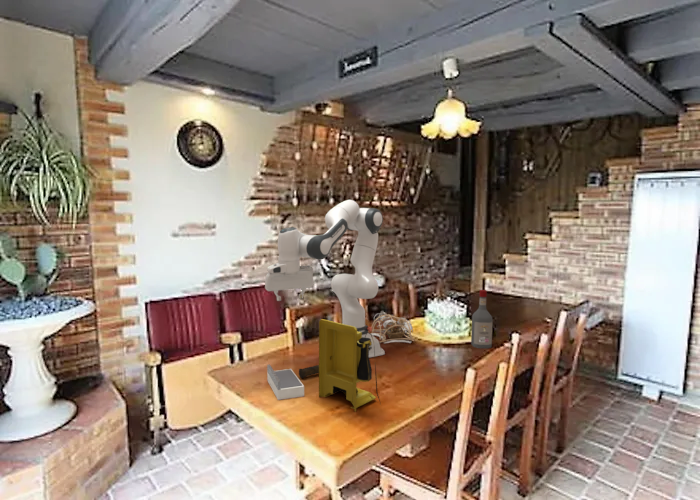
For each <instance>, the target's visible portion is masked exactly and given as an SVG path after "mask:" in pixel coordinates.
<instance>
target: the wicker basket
mask: <svg viewBox="0 0 700 500" xmlns="http://www.w3.org/2000/svg"><path fill="white" fill-rule="evenodd" d="M377 315H378V316H377ZM376 316H377V317H376ZM375 317H376V318H375ZM373 319H374V320H373V322H372V325H371V327H372V331H371V333H370V332H369V333H370V334H372V335H373V336H374V337H375V336H376V337H379V343H380V344H382V343H383V344H389V343H408V344H411V343H412V341H413V342H415V339H414V338H413V336H412V332H411V330H412V329H413V326H412V323H411V321H410V320H409V319H407V318H405V317H397V316H395V315H394V314H389V313H388V314H387V313H386V312H384V311H383V310H381V311H380V313H376V314H375V315H374V317H373ZM395 319H396V320H397V321H396V320H395ZM382 322H383V323H382ZM377 323H378V325H377ZM381 323H382V324H381ZM382 326H383V328H382ZM375 327H377V328H378V329H375ZM412 331H413V330H412ZM407 332H408V333H407ZM386 336H388V337H386ZM409 336H410V337H409ZM387 338H389V339H387Z"/></svg>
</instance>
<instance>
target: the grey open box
mask: <svg viewBox="0 0 700 500" xmlns="http://www.w3.org/2000/svg"><path fill="white" fill-rule="evenodd" d="M266 370H267V371H266V374H267V379H266V380H267V382H268V385H269V386H270V388H271V390H272V392H273V393H274V395H275V397H276V399H277V401H280V400H282V401H283V400H287V399H294V398H295V399H296V398H301V397H305V385H304V384H303V383H302V381H301V380H300V379H299V377H298V376H297V375H296V373H295V372H294V371H293V369H292V368H289V369H287V368H285V369H280V370H274V369H273V367H272V366H271V364H267V367H266Z"/></svg>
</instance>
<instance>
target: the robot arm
mask: <svg viewBox="0 0 700 500" xmlns="http://www.w3.org/2000/svg"><path fill="white" fill-rule="evenodd" d="M324 222H325V226H326V228H327V229H328V230H327V231H326V232H325V233H323V234H319V235H318V234H317V235H314V234H305V233H303V232H301V231H299V230H298V228H297V227H295V226H294V227H285V228H282V229H280V230H279V232H278V234H277V235H278V236H277V251H278V259H277V262H276V263H274V264H271V265H269V266H267V268H266V269H267V272H266V275H265V278H264V289H265V290H266V291H267V292H273V293H274V295H275V296H276V301H277V302H280V301H282V296H281V295H279V291H286V290H299V289H300V290H301V292H300V293H298V299H299V300H303V299H304V295H305V292H306V291H307V288H308V289H309V288H313V287H314V285H315V283H314V268H313V267H312V266H310V265H301V264H300V263H301V262H300V259H301V258H300V257H303V258H309V259H314V260H319V261H321V260H324V259H325V258H327V257H328V255H329V254H330V252H331V250H332V249H333V247H334V246H335V245H336V244H337V242H338V241H339V240H340V239H341V238H342V237H343V236H345V233H346V232H347V231H357V234H358V235H357V238H356V240H355V242H354V246H353V249H352V253H351V256H350V263H351V265H352V266H353V267H354V268H355V270H354V272H355V273H354V274H351V273H340V274H339V273H338V274H336V275H334V276H333V277H332V279H331V281H330V287H331V290H332V292H333V293H334V294H335V295H336V297H337V299H338V300H339V303H340V306H341V312H342V313H341V314H342V318H341V319H342V324H345V325H350V326H354V327H356V328H357V331H358V332H362V337H364V338H370V339H371V342H372V345H371V346H369V359H370V358H376V357H378V356H383V355H385V354H386V353H385V352H386V351H385V350H384V349H383V348H382V347H381V343H380V340H378V339H377V337H375V335H372V337H371V334H369V333H370V332H372V330H373V329H372V326H369V325H367V324H366V309H365V308H364V306H363V305H362V304H361V303H360V301H359V300H358V299H360V300H361V299H362V300H368V299H370V300H371V299H374V298H375V297H376V296H377V294H378V292H379V283H378V281H377V280H376V278H375V276H374V274H373V264H374V259H375V257H376V252H377V248H378V242H379V233H378V232H379V231H380V229H381V227H382V225H383V223H384V217H383V214H382V211H381V210H380V209H377V208H373V207H370V208H369V207H360V205H359V203H357V202H356V201H355V200H353V199H346V200H344V201H342V202H340V203H337V204H336V205H335V206H334V207H332V208H330V210H328V211H327V213H326V214H325V217H324ZM367 332H368V333H367ZM366 333H367V335H366ZM365 336H366V337H365ZM372 338H373V340H372ZM373 341H374V343H373ZM374 349H375V356H374Z"/></svg>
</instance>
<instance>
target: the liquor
mask: <svg viewBox="0 0 700 500" xmlns="http://www.w3.org/2000/svg"><path fill="white" fill-rule="evenodd" d="M487 292H488V290H485V289H479V293H478V294H479V300H478V301H479V303H478V308H477V309H476V311H474V312H473V314H472V315H471V334H470V335H471V338H470V341H471V343H470V344H471V346H472V347H473V348H476V349H491V348H492V346H493V345H492V343H493V322H494V321H493V316H492V315H491V314H490V312H489V311H488V309H487Z"/></svg>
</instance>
